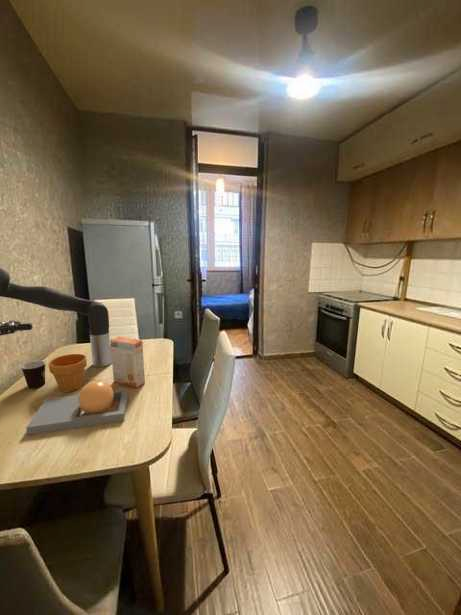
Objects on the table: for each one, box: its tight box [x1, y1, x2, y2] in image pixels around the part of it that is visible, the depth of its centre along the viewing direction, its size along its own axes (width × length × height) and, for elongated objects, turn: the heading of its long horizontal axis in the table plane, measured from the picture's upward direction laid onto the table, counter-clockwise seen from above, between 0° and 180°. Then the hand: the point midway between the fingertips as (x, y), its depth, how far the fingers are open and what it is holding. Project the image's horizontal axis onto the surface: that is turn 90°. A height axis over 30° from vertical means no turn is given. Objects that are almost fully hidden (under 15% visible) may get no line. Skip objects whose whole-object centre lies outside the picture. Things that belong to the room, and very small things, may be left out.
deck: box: [25, 388, 129, 436], centre depth 102 cm, size 30×18×3 cm, turn 106°
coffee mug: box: [21, 360, 46, 390], centre depth 123 cm, size 12×9×10 cm
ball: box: [78, 380, 114, 415], centre depth 102 cm, size 12×12×12 cm
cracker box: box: [110, 336, 146, 389], centre depth 123 cm, size 14×6×21 cm, turn 65°
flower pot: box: [48, 353, 88, 393], centre depth 120 cm, size 14×14×13 cm
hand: (31, 326), depth 101 cm, fingers closed
